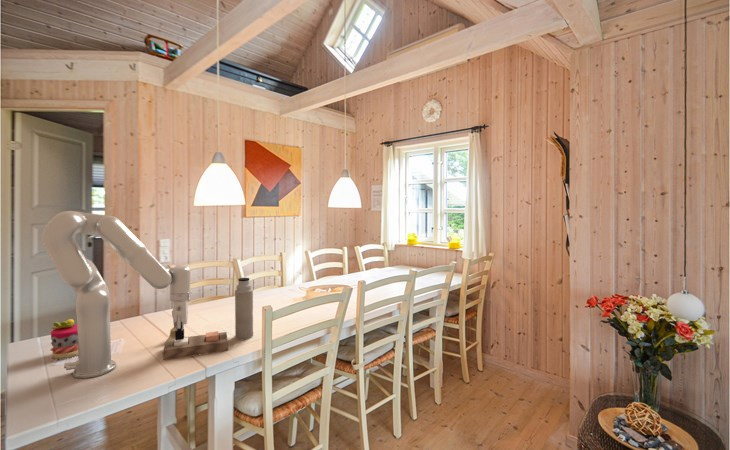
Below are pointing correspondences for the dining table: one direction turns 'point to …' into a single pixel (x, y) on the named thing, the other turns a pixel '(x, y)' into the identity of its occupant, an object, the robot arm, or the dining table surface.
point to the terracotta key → (212, 336)
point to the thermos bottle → (243, 310)
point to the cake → (64, 340)
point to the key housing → (195, 346)
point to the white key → (181, 342)
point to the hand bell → (172, 331)
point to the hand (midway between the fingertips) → (179, 339)
